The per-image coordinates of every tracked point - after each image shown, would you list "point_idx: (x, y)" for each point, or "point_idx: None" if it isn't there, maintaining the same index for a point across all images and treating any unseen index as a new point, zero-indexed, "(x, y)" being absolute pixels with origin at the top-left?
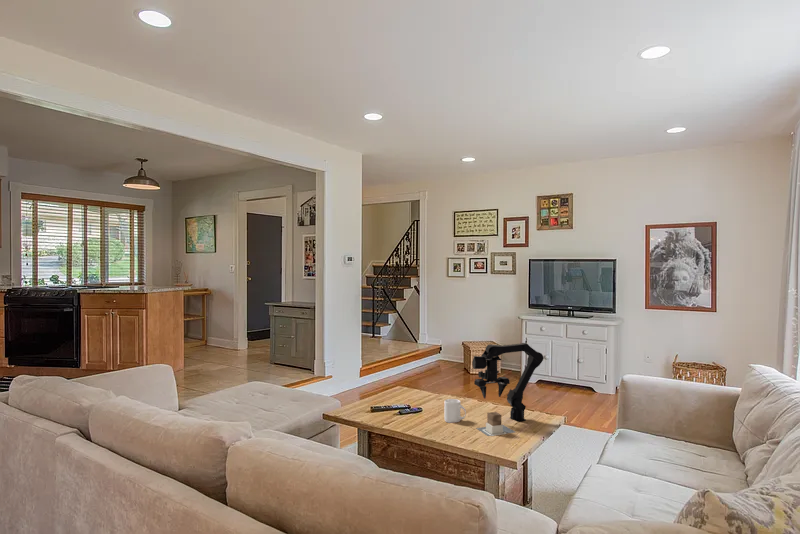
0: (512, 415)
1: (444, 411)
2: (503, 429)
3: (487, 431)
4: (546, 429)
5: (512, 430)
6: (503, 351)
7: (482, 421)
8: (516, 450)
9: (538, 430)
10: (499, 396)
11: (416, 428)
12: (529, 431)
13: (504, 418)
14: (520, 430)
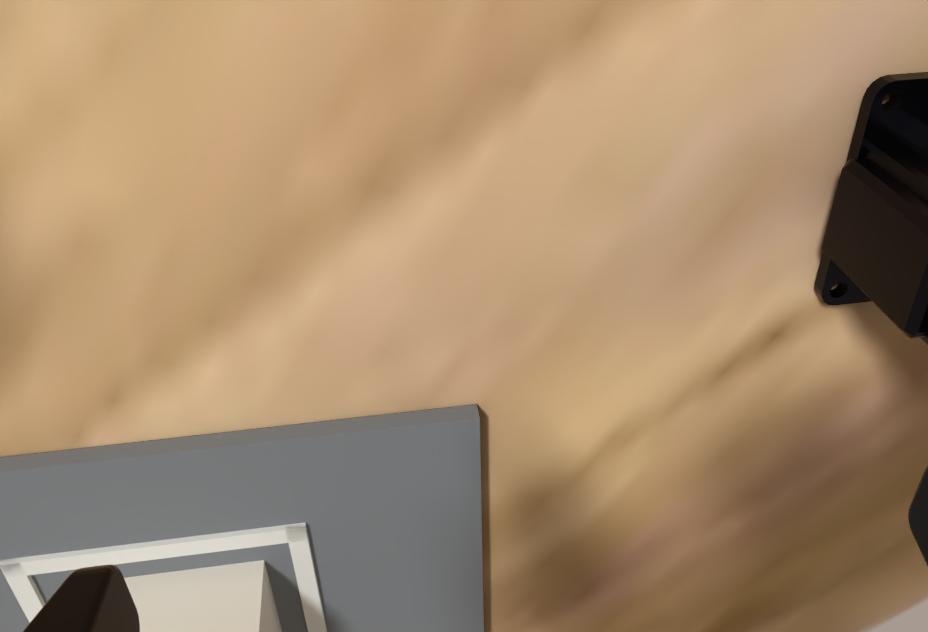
0: (867, 276)
1: None
2: (370, 576)
3: None
4: (917, 586)
5: (474, 615)
6: None
7: (185, 91)
8: None
9: (806, 599)
10: (922, 519)
11: None
12: (682, 612)
13: (786, 32)
14: (602, 577)
